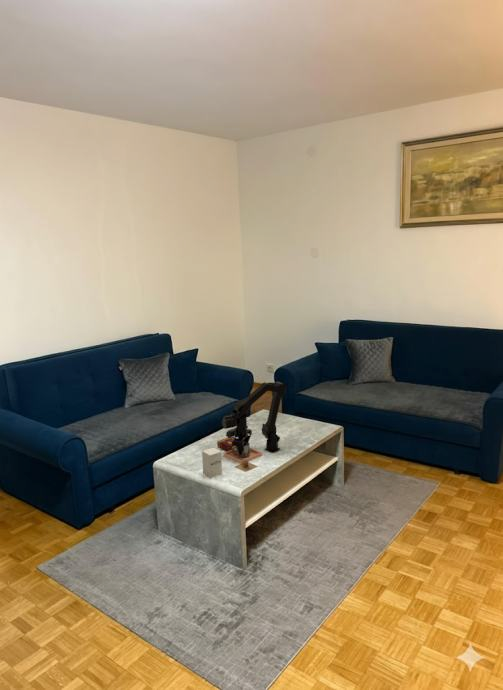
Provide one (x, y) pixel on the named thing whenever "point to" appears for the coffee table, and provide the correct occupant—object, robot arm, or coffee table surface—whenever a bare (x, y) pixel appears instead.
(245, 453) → the grey tankard
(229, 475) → the coffee table surface
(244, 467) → the square plate with peg
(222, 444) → the decorative book
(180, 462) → the coffee table surface
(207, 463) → the supplement box
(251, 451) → the tray
